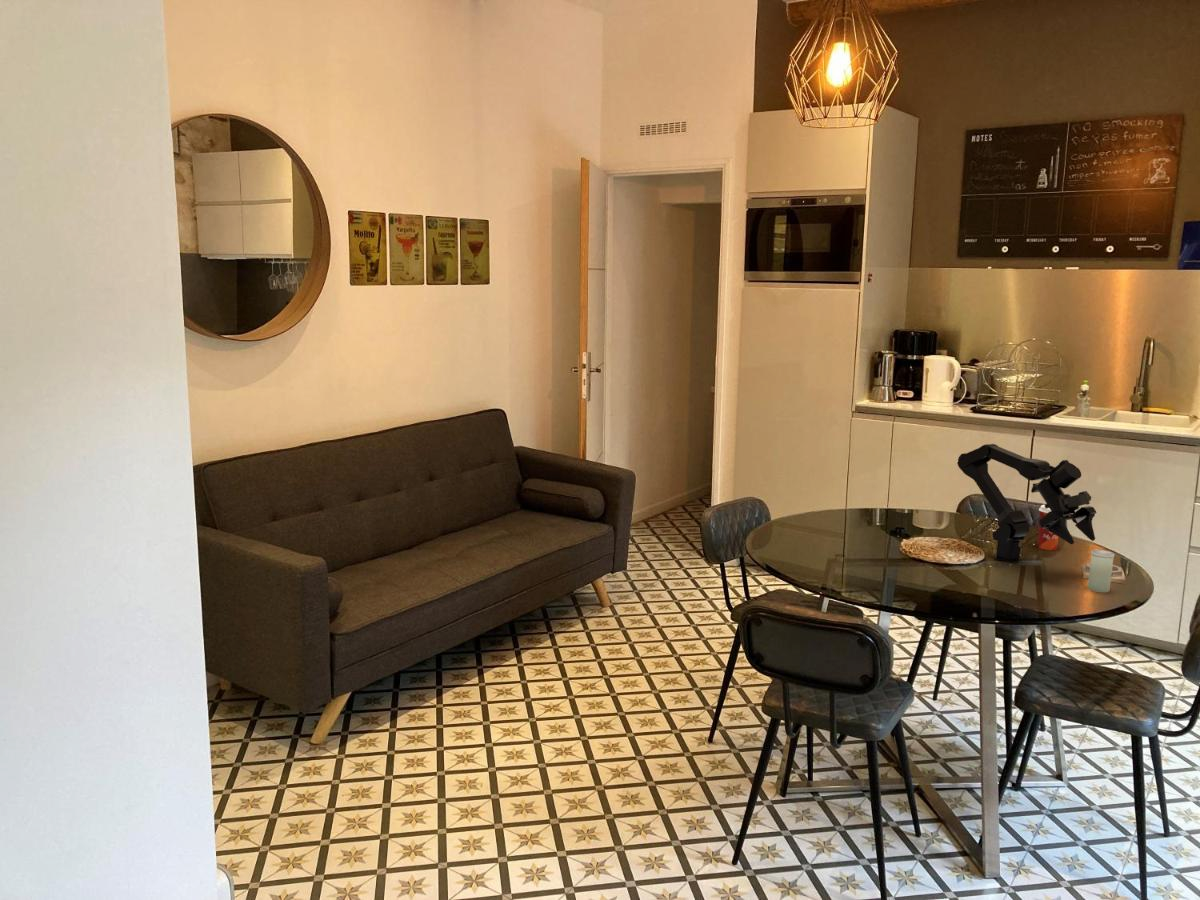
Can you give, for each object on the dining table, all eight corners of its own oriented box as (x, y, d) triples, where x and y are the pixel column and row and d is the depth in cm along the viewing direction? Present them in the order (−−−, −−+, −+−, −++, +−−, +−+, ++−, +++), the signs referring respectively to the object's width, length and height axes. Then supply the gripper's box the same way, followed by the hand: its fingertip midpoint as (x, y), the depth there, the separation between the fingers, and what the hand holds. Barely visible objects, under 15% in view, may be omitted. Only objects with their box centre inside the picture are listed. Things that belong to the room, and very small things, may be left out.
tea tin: (1087, 590, 270) (1092, 553, 268) (1086, 584, 275) (1091, 548, 273) (1110, 593, 268) (1115, 556, 266) (1109, 587, 273) (1113, 551, 271)
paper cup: (1045, 552, 308) (1050, 510, 305) (1029, 545, 315) (1033, 504, 313) (1065, 550, 310) (1070, 509, 307) (1049, 544, 317) (1053, 503, 315)
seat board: (1083, 578, 281) (1084, 569, 281) (1081, 568, 291) (1082, 559, 291) (1125, 583, 277) (1126, 574, 276) (1122, 573, 287) (1123, 564, 286)
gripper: (1051, 484, 272) (1081, 531, 265) (1094, 479, 281) (1124, 524, 273) (1026, 505, 281) (1054, 550, 273) (1068, 499, 289) (1096, 543, 281)
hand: (1083, 541), depth 275 cm, fingers open, 9 cm apart
